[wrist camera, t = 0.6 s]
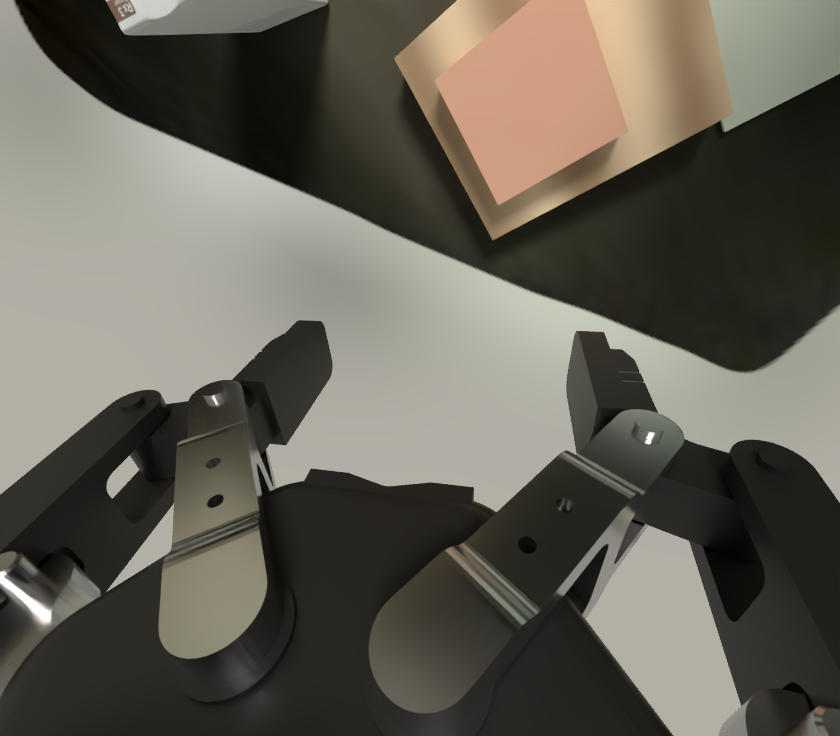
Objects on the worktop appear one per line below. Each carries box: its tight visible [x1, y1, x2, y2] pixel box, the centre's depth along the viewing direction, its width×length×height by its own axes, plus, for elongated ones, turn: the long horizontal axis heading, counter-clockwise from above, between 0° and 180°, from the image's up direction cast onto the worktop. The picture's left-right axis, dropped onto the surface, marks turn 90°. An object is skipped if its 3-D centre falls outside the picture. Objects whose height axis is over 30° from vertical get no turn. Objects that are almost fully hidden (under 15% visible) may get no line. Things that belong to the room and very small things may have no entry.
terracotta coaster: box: [434, 0, 628, 205], centre depth 23 cm, size 8×8×2 cm
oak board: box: [394, 0, 734, 240], centre depth 24 cm, size 15×13×3 cm
